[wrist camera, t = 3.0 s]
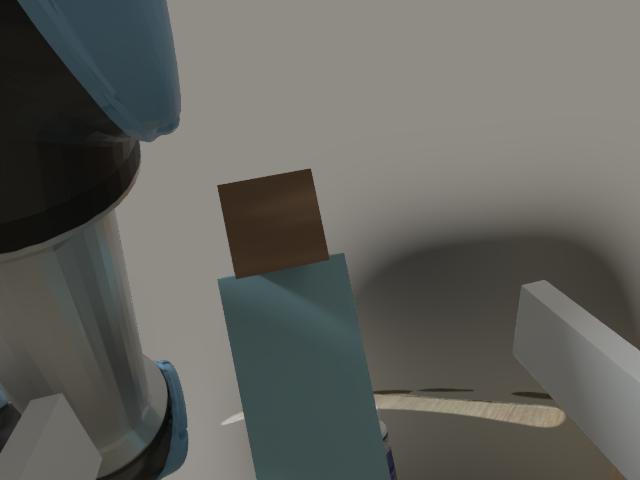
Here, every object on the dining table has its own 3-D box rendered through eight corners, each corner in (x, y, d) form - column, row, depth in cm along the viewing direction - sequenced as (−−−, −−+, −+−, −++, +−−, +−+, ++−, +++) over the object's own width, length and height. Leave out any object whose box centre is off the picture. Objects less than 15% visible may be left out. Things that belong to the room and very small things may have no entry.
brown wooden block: (244, 272, 37) (232, 210, 37) (316, 257, 38) (304, 196, 38) (199, 287, 16) (171, 145, 16) (363, 252, 17) (335, 117, 17)
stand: (297, 595, 36) (234, 274, 37) (391, 566, 37) (327, 255, 38) (304, 723, 26) (217, 279, 27) (432, 680, 27) (344, 253, 28)
